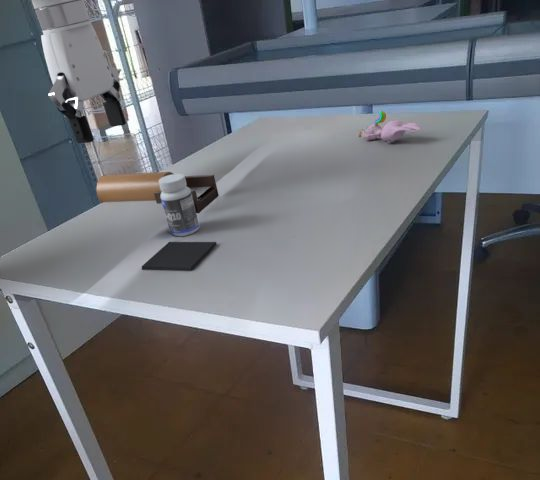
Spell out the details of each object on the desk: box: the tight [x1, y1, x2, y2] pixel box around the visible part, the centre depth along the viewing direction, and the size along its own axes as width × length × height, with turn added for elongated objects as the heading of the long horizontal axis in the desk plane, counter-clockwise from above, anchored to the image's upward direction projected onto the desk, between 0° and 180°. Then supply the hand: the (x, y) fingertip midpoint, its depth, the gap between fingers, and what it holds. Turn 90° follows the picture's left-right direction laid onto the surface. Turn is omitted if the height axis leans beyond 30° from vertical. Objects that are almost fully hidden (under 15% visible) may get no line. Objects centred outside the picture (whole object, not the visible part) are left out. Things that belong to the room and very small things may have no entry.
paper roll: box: [96, 171, 174, 203], centre depth 98 cm, size 14×6×6 cm, turn 69°
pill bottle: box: [159, 173, 200, 237], centre depth 84 cm, size 5×5×8 cm
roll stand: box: [154, 174, 219, 214], centre depth 95 cm, size 8×8×4 cm
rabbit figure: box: [357, 110, 422, 144], centre depth 105 cm, size 6×6×15 cm
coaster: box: [141, 241, 217, 272], centre depth 78 cm, size 8×8×1 cm
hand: (102, 133), depth 94 cm, fingers open, 9 cm apart
